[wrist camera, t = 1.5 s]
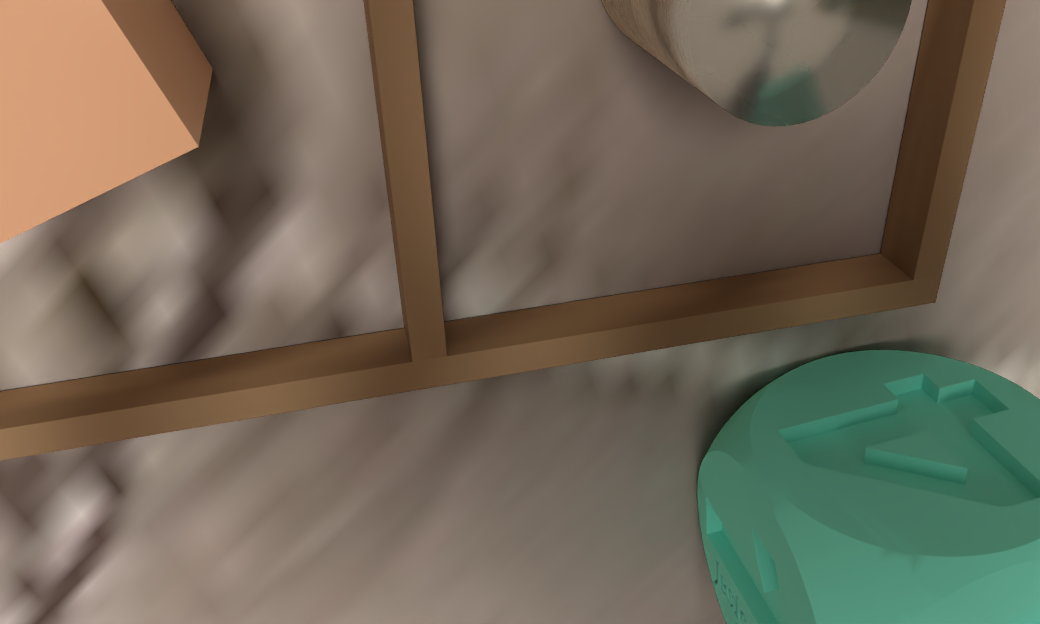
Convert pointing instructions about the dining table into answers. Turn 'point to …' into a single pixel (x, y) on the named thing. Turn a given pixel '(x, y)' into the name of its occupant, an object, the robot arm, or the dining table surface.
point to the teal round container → (876, 496)
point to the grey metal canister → (768, 49)
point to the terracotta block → (91, 100)
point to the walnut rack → (555, 328)
